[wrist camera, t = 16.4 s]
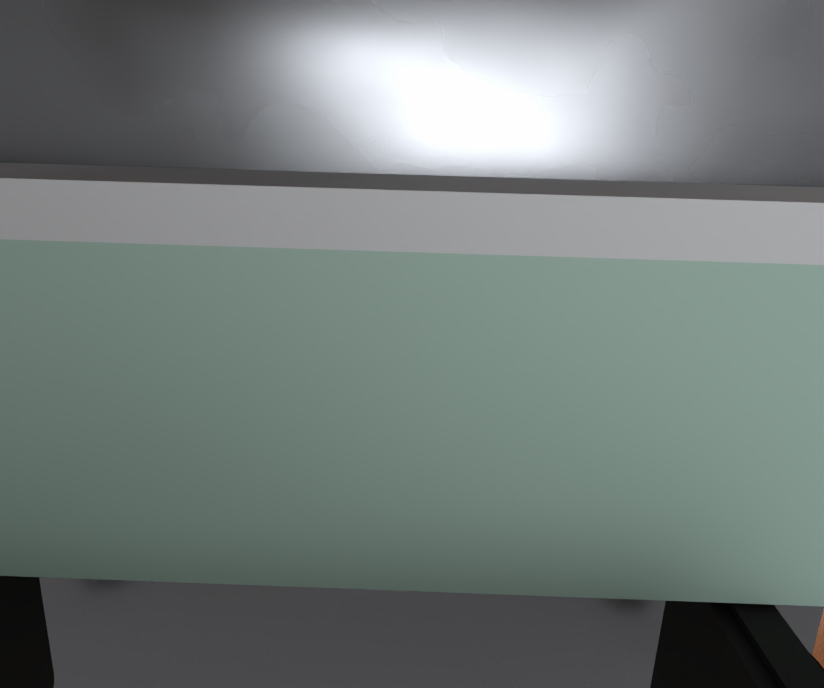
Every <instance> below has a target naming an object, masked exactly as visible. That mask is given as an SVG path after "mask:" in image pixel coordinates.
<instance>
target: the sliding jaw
mask: <svg viewBox="0 0 824 688" xmlns="http://www.w3.org/2000/svg"><path fill="white" fill-rule="evenodd" d="M0 576H21V577H47V578H74V579H101V580H128V581H154V582H181V583H208V584H234V585H261V586H288V587H315V588H341V589H368V590H395V591H422V592H448V593H475V594H502V595H528V596H555V597H582V598H609V599H635V600H662V601H689V602H716V603H742V604H769V605H796V606H822V607H824V187H801V186H768V185H734V184H701V183H668V182H634V181H601V180H567V179H534V178H500V177H467V176H433V175H400V174H367V173H333V172H300V171H266V170H233V169H199V168H166V167H132V166H99V165H66V164H32V163H0Z"/></svg>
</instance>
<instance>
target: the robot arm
mask: <svg viewBox="0 0 824 688" xmlns="http://www.w3.org/2000/svg"><path fill="white" fill-rule="evenodd" d="M53 687H54V670H53V664H52V658H51V651H50V645H49V638H48V632H47V625H46V619H45V612H44V606H43V599H42V593H41V586H40V580H39V577H21V576H0V688H53ZM650 688H824V669H823V667H822V666H821V665H820V663H819V662H818V661H817V660H816V659H815V658H814V657H813V656H812V655H811V654H810V653H809V652H808V650H807V649H806V648H805V646H804V645H803V644H802V642H801V641H800V640H799V638H798V637H797V635H796V634H795V633H794V631H793V630H792V629H791V627H790V626H789V625H788V623H787V622H786V620H785V619H784V618H783V616H782V615H781V614H780V612H779V611H778V610H777V608H776V607H775V605H769V604H742V603H716V602H689V601H666V602H665V607H664V613H663V618H662V624H661V630H660V635H659V641H658V646H657V652H656V658H655V663H654V669H653V674H652V680H651V686H650Z"/></svg>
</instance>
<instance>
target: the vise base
mask: <svg viewBox="0 0 824 688" xmlns="http://www.w3.org/2000/svg"><path fill="white" fill-rule="evenodd" d="M0 163H32V164H66V165H99V166H132V167H166V168H199V169H233V170H266V171H300V172H333V173H367V174H400V175H433V176H467V177H500V178H534V179H567V180H601V181H634V182H668V183H701V184H734V185H768V186H801V187H824V0H0ZM39 580H40V586H41V593H42V599H43V606H44V612H45V619H46V625H47V632H48V638H49V645H50V651H51V658H52V664H53V670H54V687H53V688H650V686H651V680H652V674H653V669H654V663H655V658H656V652H657V646H658V641H659V635H660V630H661V624H662V618H663V613H664V607H665V602H666V601H662V600H635V599H609V598H582V597H555V596H528V595H502V594H475V593H448V592H422V591H395V590H368V589H341V588H315V587H288V586H261V585H234V584H208V583H181V582H154V581H128V580H101V579H74V578H47V577H39ZM775 607H776V608H777V610H778V611H779V612H780V614H781V615H782V616H783V618H784V619H785V620H786V622H787V623H788V625H789V626H790V627H791V629H792V630H793V631H794V633H795V634H796V635H797V637H798V638H799V640H800V641H801V642H802V644H803V645H804V646H805V648H806V649H807V650H808V652H809V653H810V654H811V655H812V652H813V648H814V644H815V640H816V636H817V632H818V628H819V624H820V620H821V616H822V612H823V608H824V607H822V606H796V605H775Z"/></svg>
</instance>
